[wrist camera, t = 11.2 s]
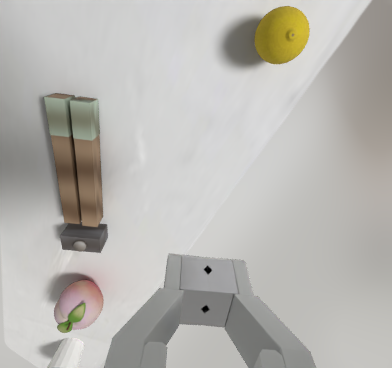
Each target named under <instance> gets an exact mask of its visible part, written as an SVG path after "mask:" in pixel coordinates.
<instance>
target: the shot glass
mask: <svg viewBox="0 0 392 368" xmlns="http://www.w3.org/2000/svg"><path fill="white" fill-rule="evenodd" d="M84 346H85V345H84V343H83V342H82V341H81V340H79V339H76V338H65V339H64V340H62V342H61V344H60V346H59V347H58V349H57V351H56V353H55V354H54V356H53V358H52V360H51V362H50V363H49V365H48V367H47V368H78V367H79V363H80V360H81V356H82V353H83V349H84Z"/></svg>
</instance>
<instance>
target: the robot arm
mask: <svg viewBox="0 0 392 368" xmlns="http://www.w3.org/2000/svg"><path fill="white" fill-rule="evenodd" d="M179 324H188V325H206V326H216V327H225V330H226V332H227V333H228V335H229V337H230V338H231V340H232V341H233V343H234V345H235V346H236V348H237V350H238V351H239V353H240V355H241V356H242V358H243V359H244V361H245V363H246V364H247V366H248V368H316V366H315V363H314V361H313V358H312V356H311V353H310V351H309V350H308V349H307V348H306V347H305V346H304V345H303V344H302V343H301V341H300V340H299V339H298V338H297V337H296V336H295V335H294V334H293V333H292V332H291V331H290V330H289V329H288V328H287V327H286V326H285V324H284V323H283V322H282V321H281V320H280V319H279V318H278V317H277V316H276V315H275V314H274V313H273V312H272V311H271V310H270V309H269V308H268V306H267V305H266V304H265V303H264V302H263V301H262V300H261V299H260V298H259V297H258V296H254V294H253V290H252V286H251V282H250V278H249V274H248V270H247V266H246V262H245V261H244V260H236V259H232V260H231V259H223V258H210V257H199V256H189V255H182V256H181V255H178V254H170V253H169V255H168V259H167V267H166V274H165V282H164V288H163V289H162V288H159V289H158V291H157V292H156V293H155V294H154V295H153V296H152V297H151V298H150V299H149V300H148V301H147V302H146V303H145V304H144V305H143V306H142V307H141V308H140V309H139V311H138V312H137V313H136V314H135V315H134V316H133V317H132V318H131V319H130V320H129V321H128V322H127V323H126V324H125V325H124V326H123V327H122V328H121V329H120V331H119V332H118V333H117V334H116V335H115V336H114V337H113V338H112V342H111V345H110V349H109V352H108V355H107V359H106V363H105V366H104V368H166V356H167V347H166V345H167V343H168V342H169V340H170V339H171V337H172V335H173V334H174V333H175V331H176V329H177V328H178V326H179Z"/></svg>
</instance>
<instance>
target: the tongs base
mask: <svg viewBox="0 0 392 368" xmlns="http://www.w3.org/2000/svg"><path fill="white" fill-rule="evenodd" d="M72 99H75V95H67V94H59V93H55V94H52V95H48V96H45V97H44V100H45V106H46V113H47V119H48V125H49V132H50V135H51V139H52V146H53V152H54V158H55V165H56V171H57V178H58V184H59V190H60V197H61V203H62V210H63V216H64V222H65V223H69V224H68V226H67V227H66V229H65V230H64V231H63V233H62V234H61V235H60V238H61V243H62V249H63V250H75V251H86V252H97V253H101V251H102V249H103V247H104V244H105V242H106V240H107V238H108V233H107V225H106V224H99V225H98V227H91V226H82V222H81V221H82V217H81V206H80V196H79V186H78V175H77V165H76V155H75V144H74V138H73V130H72V119H71V109H70V100H72Z"/></svg>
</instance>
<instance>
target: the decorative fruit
mask: <svg viewBox="0 0 392 368" xmlns="http://www.w3.org/2000/svg"><path fill="white" fill-rule="evenodd" d="M102 308H103V296H102V293H101V291H100V289H99V287H98V286H97V285H96V284H95V283H94V282H92V281H88V280H81V281H77V282H74V283H73V284H71V285H69V286H68V287H67V288H66V289H65V290H64V291H63V292H62V294H61V296H60V299H59V300H58V302H57V303H56V306H55V309H54V316H55V320H56V322H57V323H58V324H59V325H58V326H57V329H58V330H59V331H60V332H62V333H67V332H70V331H71V330H72V329H73V330H77V329H83V328H86V327H88V326H90V325H91V324H92V323H93V322H94V321H95V320H96V319H97V318H98V316H99V315H100V313H101V311H102Z"/></svg>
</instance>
